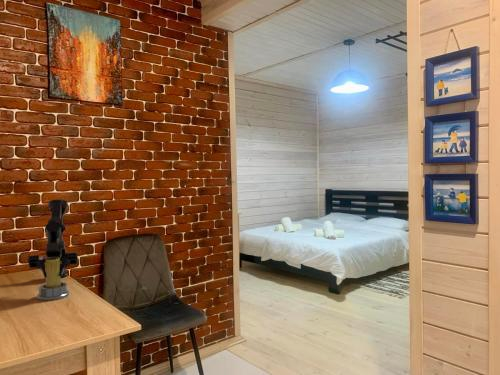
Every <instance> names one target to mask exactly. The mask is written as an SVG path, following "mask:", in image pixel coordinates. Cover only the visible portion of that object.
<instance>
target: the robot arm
mask: <svg viewBox="0 0 500 375" xmlns="http://www.w3.org/2000/svg"><path fill="white" fill-rule="evenodd" d="M48 209H49V210H50V213H51V215H50V218H49V219H48V220H47V224H46V225H45V227H44V233H45V234H46V237H47V241H46V244H45V245H46V248H45V256H46V257H45V256H40V254H30V255H29V256H28V257H27V262H28V267H29V268H37V269H39V270H40V271H41V272H42V275H43V277H44V279H46V259H47V258H52V257H59V258H60V278H61V279H62V278H66V277H69V274H66V273H67V271H66V269H67V268H68V267H70V265H77V264H78V263H79V258H78V256H79V255H78V252H77V251H74V252H73V251H70V252H67V250H66V247H65V240H63V238H64V237H63V236H64V235H63V234H64V233H65V232H66V231H67V226H66V225H65V224H64V220H63V219H64V218H63V217H64V216H65V214H66V213H67V209H68V200H65V199H59V198H58V199H51V200H48Z"/></svg>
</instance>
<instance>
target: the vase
mask: <svg viewBox="0 0 500 375" xmlns="http://www.w3.org/2000/svg"><path fill="white" fill-rule="evenodd" d="M45 270H46V278H45V284H46V288H55V287H60V286H61V282H62V280H61V279H62V278H60V258H59V257H52V258H47V259H46V262H45Z"/></svg>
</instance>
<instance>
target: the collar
mask: <svg viewBox="0 0 500 375" xmlns="http://www.w3.org/2000/svg"><path fill="white" fill-rule="evenodd" d="M67 285H68V283H66V282H62V281H61V286H60V287H55V288H46V283H43V284H41V285H39V286H38V294H37V295H36V300H38V301H45V302H49V301H51V302H52V301H58V300H61V299H64V298H67V297H69V295H70V291H69V290H68V286H67Z"/></svg>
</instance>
